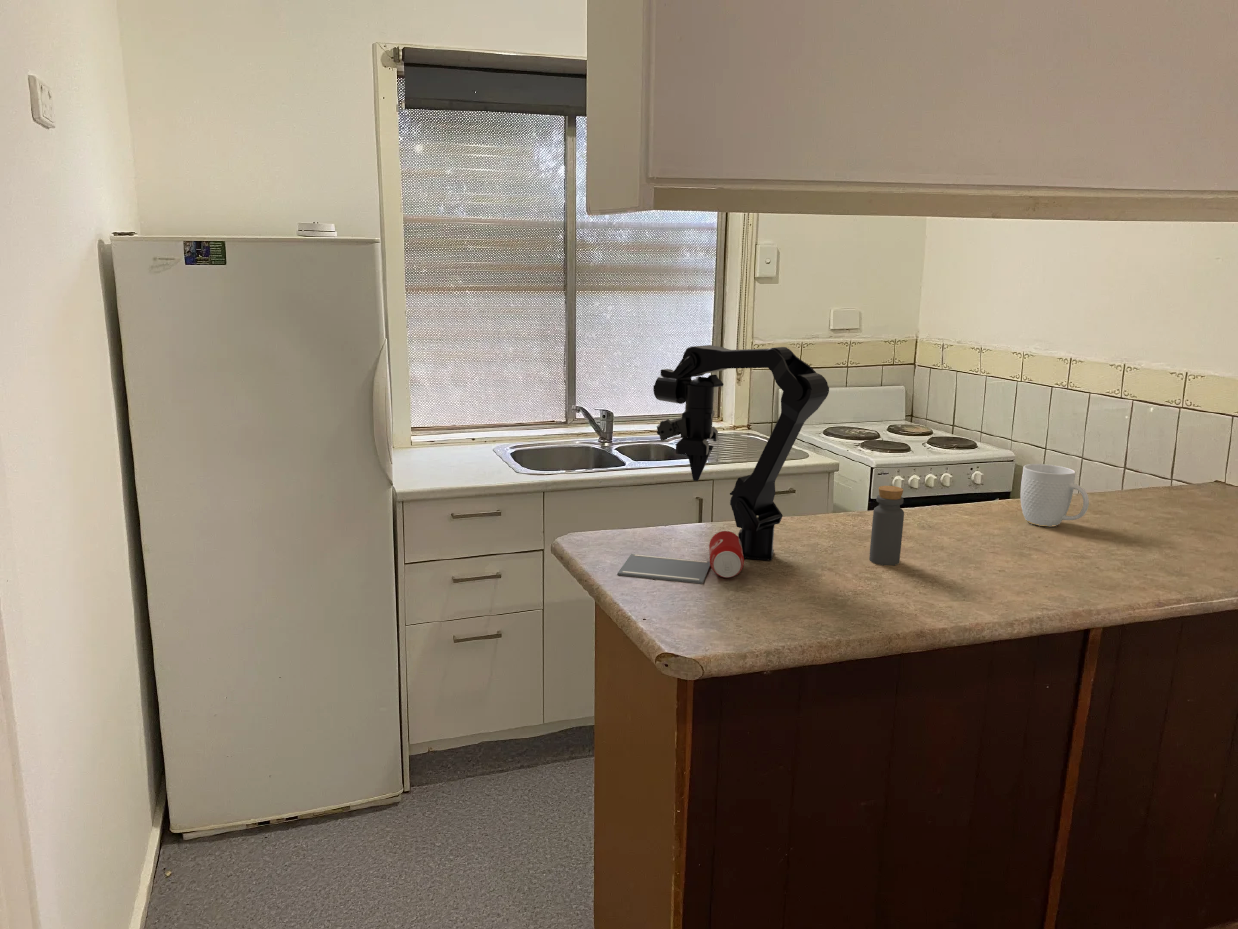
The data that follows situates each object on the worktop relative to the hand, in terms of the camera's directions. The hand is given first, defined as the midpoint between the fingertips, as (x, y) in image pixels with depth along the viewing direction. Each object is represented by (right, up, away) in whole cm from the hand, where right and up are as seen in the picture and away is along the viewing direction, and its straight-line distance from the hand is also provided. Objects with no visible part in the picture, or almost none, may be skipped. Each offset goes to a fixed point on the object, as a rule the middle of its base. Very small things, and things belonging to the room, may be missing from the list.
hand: (695, 480), depth 196 cm
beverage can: (+5, -12, -12) cm, 18 cm away
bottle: (+37, -16, -9) cm, 41 cm away
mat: (-7, -17, -18) cm, 25 cm away
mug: (+83, -11, +20) cm, 86 cm away
